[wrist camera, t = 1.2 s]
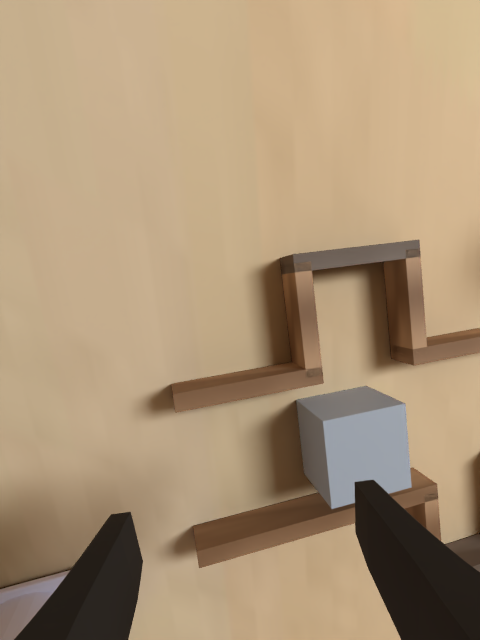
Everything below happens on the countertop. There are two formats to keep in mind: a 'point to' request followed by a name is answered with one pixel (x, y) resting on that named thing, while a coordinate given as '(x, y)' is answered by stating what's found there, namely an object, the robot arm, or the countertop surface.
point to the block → (353, 442)
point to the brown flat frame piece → (306, 370)
